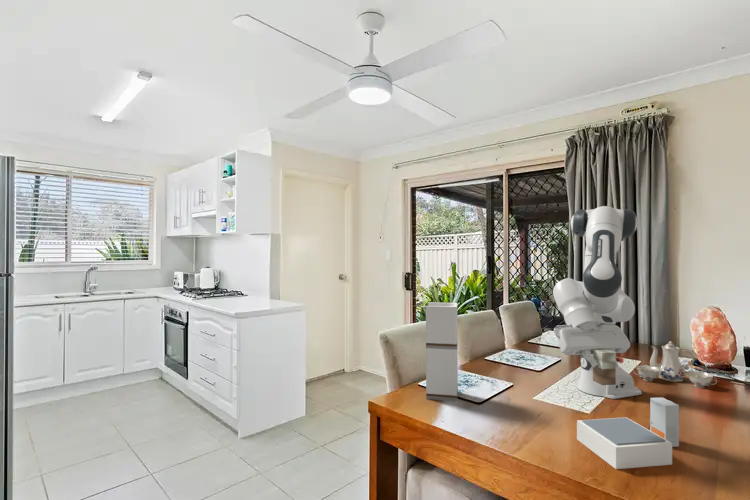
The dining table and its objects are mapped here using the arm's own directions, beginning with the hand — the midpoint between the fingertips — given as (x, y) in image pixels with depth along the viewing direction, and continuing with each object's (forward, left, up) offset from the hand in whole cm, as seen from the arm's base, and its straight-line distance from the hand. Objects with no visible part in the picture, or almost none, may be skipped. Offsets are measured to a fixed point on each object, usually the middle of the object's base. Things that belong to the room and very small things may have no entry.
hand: (605, 366), depth 113 cm
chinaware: (-67, -48, -24) cm, 86 cm away
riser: (-3, +2, -23) cm, 24 cm away
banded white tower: (+34, -46, -24) cm, 62 cm away
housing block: (0, -1, -5) cm, 5 cm away
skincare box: (-19, -1, -24) cm, 30 cm away
